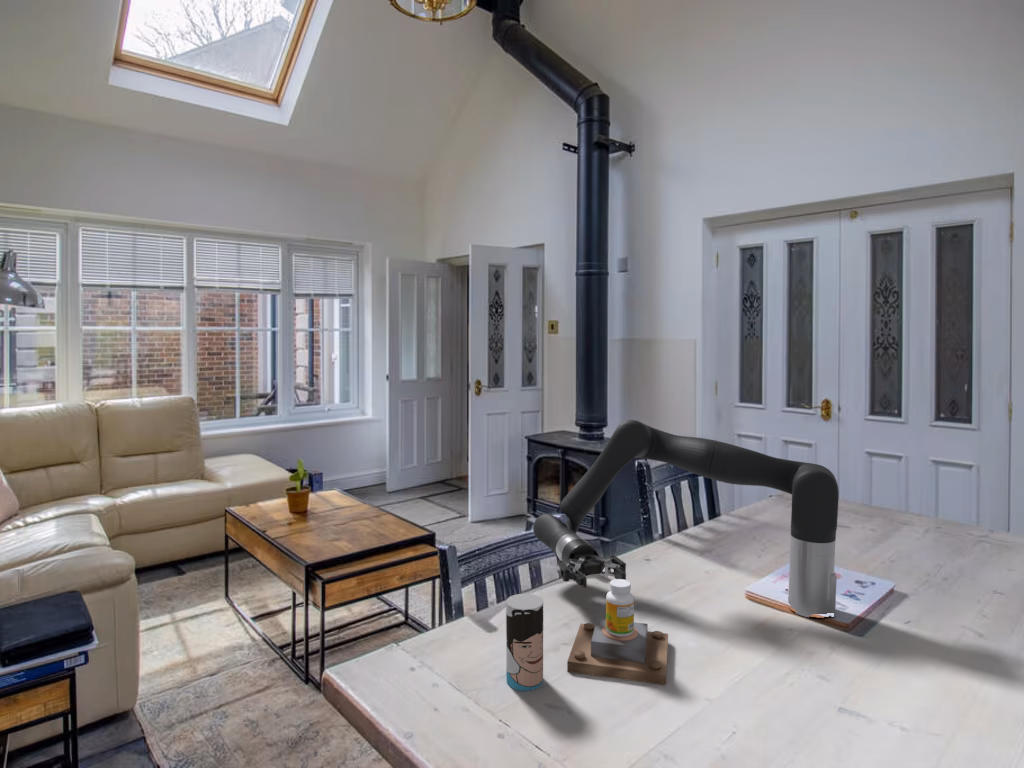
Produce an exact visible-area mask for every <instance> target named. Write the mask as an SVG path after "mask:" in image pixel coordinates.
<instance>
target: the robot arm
mask: <svg viewBox="0 0 1024 768" xmlns="http://www.w3.org/2000/svg"><path fill="white" fill-rule="evenodd" d="M633 459H644V460H651V461H655V462H656V461H657V462H661V463H666V464H669V465H672V466H675V467H678V468H679V469H681V470H684V471H687V472H688V473H691V474H694V475H698V476H700V477H703V478H707V479H710V480H714V481H717V482H722V483H725V484H730V485H737V486H754V487H755V486H756V487H766V488H771V489H774V490H778V491H781V492H784V493H787V494H789V495H791V515H790V519H791V520H790V545H789V546H790V547H789V569H788V571H789V573H788V595H787V599H788V600H787V601H788V602H787V603H789V604H790V605H791V607H793V609H795V610H796V612H797V613H795V614H796V615H799V616H801V617H805V618H809V616H810V615H811V616H812V614H827V613H835V614H836V602H837V575H836V573H835V561H836V559H835V557H836V538H837V529H838V519H839V518H838V515H839V495H840V493H839V491H840V490H839V485H838V482H837V479H836V476H835V475H834V474H833V472H832V471H831V470H830V469H829V468H827V467H825V466H823V465H821V464H818V463H810V462H805V461H798V460H797V461H796V460H790V459H784V458H779V457H774V456H771V455H768V454H764V453H762V452H759V451H756V450H752V449H748V448H746V447H742V446H738V445H734V444H731V443H727V442H723V441H720V440H719V441H718V440H715V439H714V440H713V439H709V438H704V437H703V438H702V437H694V436H684V435H677V434H673V433H669V432H666V431H663V430H660V429H657V428H655V427H652V426H649V425H647V424H646V423H644V422H641V421H640V420H635V419H628V420H625V421H622V422H621V423H619V424H618V426H616V428H615V430H614V431H613V433H612V435H611V436H610V438H609V440H608V442H607V443H606V445H605V447H604V448H603V450H602V451H601V453H600V454H599V455H598V457H597V458H596V460H595V461H594V462H593V464H592V465H591V466H590V467H589V468H588V469H587V471H586V472H585V473H584V475H582V476H581V478H580V479H579V480H578V481H577V482H576V483H575V485H574V486H573V487H572V489H570V491H568V492H567V494H566V495H565V496H564V497H563V499H562V500H561V501H560V504H559V507H560V509H561V511H562V512H563V513H564V515H566V517H567V521H566V522H563V520H561V519H559V518H558V517H557V516H555V515H554V514H551V513H542V514H540V515H539V516H538V517H537V518H536V519H535V521H534V523H533V527H532V529H533V533H534V536H535V537H536V539H538V540H539V541H540V542H541V543H542V544H544V545H545V546H546V547H547V548H549V549H550V550H551V551H552V552H553V553H554V555H555V556H556V557H557V558H558V560H557V564H556V565H557V571H556V573H557V574H558V575H559V577H560V578H561V579H562V581H564V582H567V583H568V582H570V580H572V582H574V583H576V584H577V585H578V586H580V587H581V588H587V586H588V584H587V581H588V580H587V577H588V576H591V575H594V576H601V577H605V578H608V577H613V578H615V579H623V580H627V573H626V571H627V570H626V568H627V563H626V562H625V561H623V560H622V559H620V558H619V557H618V556H616V555H613V554H612V555H611V554H610V555H609V558H607V559H606V558H604V557H601V556H600V555H599V553H598V551H597V549H596V548H595V547H594V546H592V544H590V543H589V542H588V541H587V540H586V539H585V538H583V537H582V536H580V535H578V534H577V532H578V531H579V528H580V526H581V525H582V522H583V521H584V519H585V518H586V516H587V515H588V514H590V512H591V511H592V510H593V508H594V507H595V506H596V505H597V503H598V502H599V501H600V500H601V498H602V497H603V496H604V493H605V492H606V491H607V489H608V488H609V486H610V485H611V482H613V480H614V479H615V477H616V476H617V475H618V474H619V472H620V471H621V470H622V469H624V467H625V466H626V465H628V464H629V463H630V462H631V461H632V460H633ZM612 570H613V571H612Z"/></svg>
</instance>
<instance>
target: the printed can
mask: <svg viewBox="0 0 1024 768" xmlns="http://www.w3.org/2000/svg"><path fill="white" fill-rule="evenodd" d="M505 603H506V604H505V608H506V610H505V618H506V619H505V624H506V626H505V627H506V628H505V629H506V630H505V631H506V632H505V637H506V638H505V639H506V647H505V648H506V649H505V653H506V657H505V658H506V664H505V665H506V667H505V669H506V672H505V673H506V675H505V676H506V679H505V680H506V684H507V685H508V686H509V687H510V688H511V689H513V690H516V691H521V692H525V691H526V692H528V691H534V690H537V689H539V688H541V686H542V685H543V683H544V599H543V598H542V597H541V596H539V595H535V594H531V593H519V594H514V595H511V596H508V598H507V599H506V601H505Z"/></svg>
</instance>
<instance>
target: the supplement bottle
mask: <svg viewBox="0 0 1024 768" xmlns="http://www.w3.org/2000/svg"><path fill="white" fill-rule="evenodd" d="M631 588H632V587H631V581H629V580H627V579H626V580H623V579H616V578H615V579H611V580H610V582H609V590H610V591H608V592H607V594H606V599H605V607H606V608H605V609H606V610H605V619H606V630H607V632H608V633H609V634H611V635H614V636H618V637H625V636H629V635H631V634H632V633H633V631H634V622H635V596H634V594H633V593H632V592H631V590H632V589H631Z"/></svg>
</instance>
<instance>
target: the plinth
mask: <svg viewBox="0 0 1024 768" xmlns="http://www.w3.org/2000/svg"><path fill="white" fill-rule="evenodd" d="M648 628H649V627H648V623H642V622H636V621H634V631H633V633H632V634H631V635H629V636H625V637H618V636H614V635H611V634H609V633H608V632H607V630H606V618H602V617H601V618H600V617H598V618H597V619H596V623H595V624H593V623H592V622H586V623H580V624H579V627H578V630H577V632H576V636H575V639H574V642H573V643H572V646H571V647H572V648H571V650H570V652H569V656H568V658H567V662H566V663H567V664H566V665H567V666H566V667H567V669H566V670H567V672H568V673H575V674H583V675H590V676H596V677H598V676H599V677H604V678H610V679H617V680H618V679H619V680H626V681H632V682H633V681H634V682H641V683H648V684H653V685H654V684H655V685H662V686H666V685H667V670H668V668H667V667H668V666H667V665H668V649H669V648H668V647H669V633H666V632H662V631H659V630H654V631H648Z"/></svg>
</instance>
